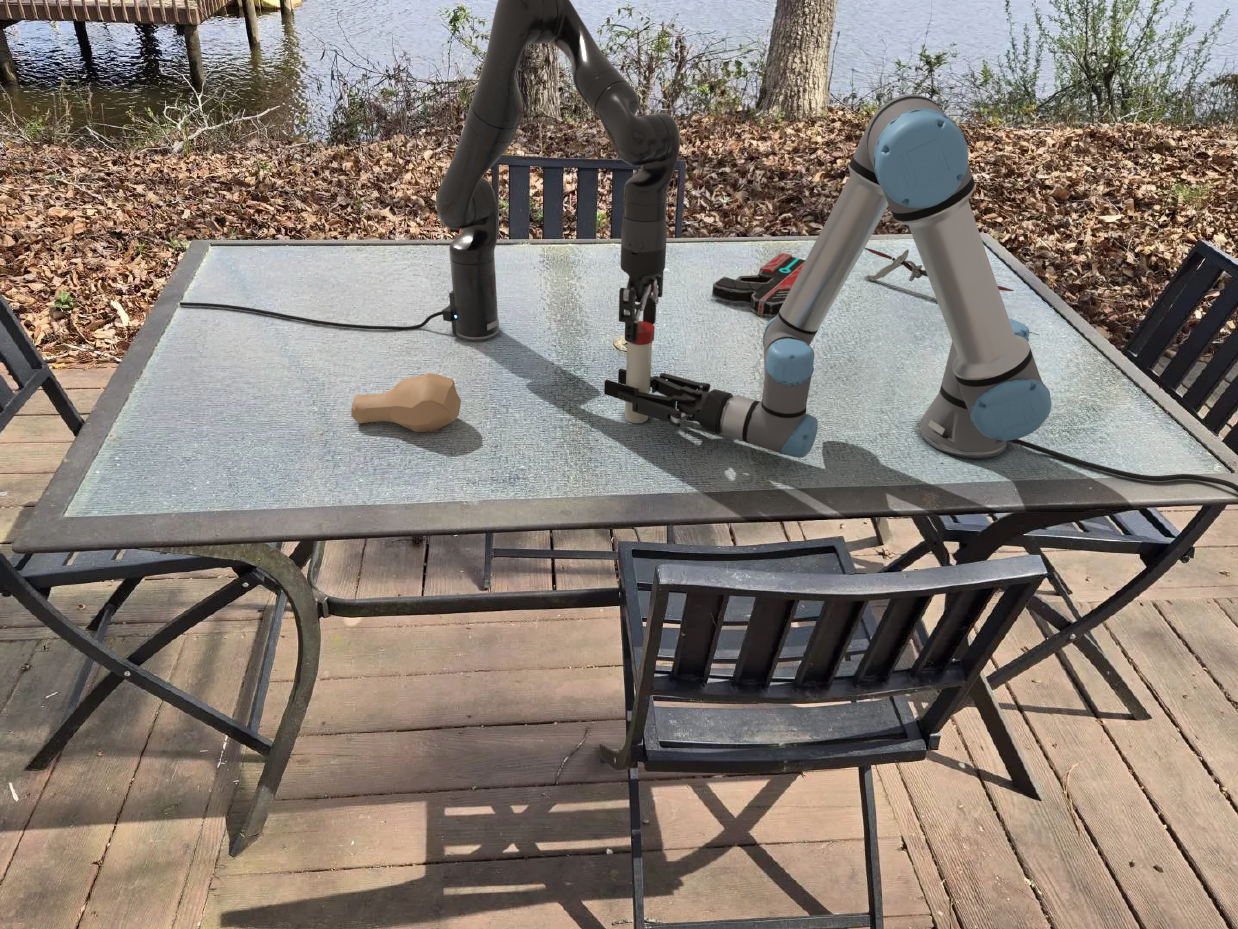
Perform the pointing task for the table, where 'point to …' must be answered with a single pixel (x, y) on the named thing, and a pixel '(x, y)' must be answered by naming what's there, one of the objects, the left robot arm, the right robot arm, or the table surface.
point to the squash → (412, 404)
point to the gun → (762, 285)
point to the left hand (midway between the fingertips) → (640, 332)
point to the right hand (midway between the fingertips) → (612, 381)
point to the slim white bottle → (638, 376)
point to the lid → (645, 333)
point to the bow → (901, 261)
